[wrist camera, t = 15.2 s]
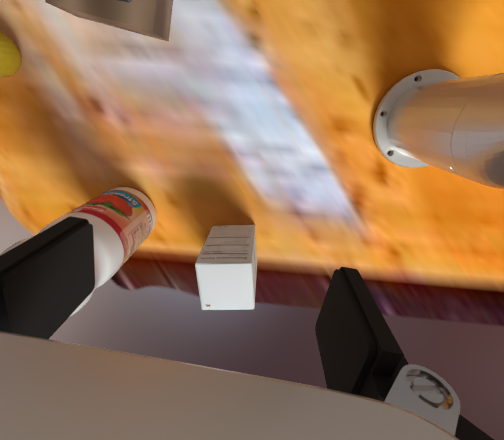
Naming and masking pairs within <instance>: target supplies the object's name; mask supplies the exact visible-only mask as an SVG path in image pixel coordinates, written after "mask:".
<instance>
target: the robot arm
mask: <svg viewBox="0 0 504 440" xmlns="http://www.w3.org/2000/svg"><path fill="white" fill-rule="evenodd" d="M415 77H416V81H415V80H414V79H415ZM381 112H383V115H380V113H381ZM373 135H374V140H375V143H376V146H377V148H378V150H379V151H380V152H381V154H382V155H383V156H384V157H385V158H386V159H387V160H389V161H391V162H392V163H394V164H396V165H399V166H402V167H407V168H420V167H426V166H429V165H432V166H435V167H438V168H440V169H443V170H446V171H448V172H451V173H454V174H456V175H459V176H462V177H464V178H467V179H470V180H472V181H475V182H478V183H481V184H483V185H487V186H490V187H494V188H501V189H504V73H500V74H492V75H484V76H477V77H469V78H460V77H458V76H457V75H455V74H454V73H452V72H449V71H446V70H440V69H429V70H423V71H419V72H415V73H413V74H410V75H408V76H406V77H404V78H403V79H401V80H400V81H398V82H397V83H396V84H395V85H394V86H392V87H391V88H390V89H389V91H388V92H387V93H386V94H385V95H384V97H383V98H382V100H381V102H380V104H379V105H378V108H377V110H376V113H375V117H374V122H373ZM388 151H390V153H389V154H387V152H388ZM94 287H95V262H94V236H93V226H92V224H89V221H88V220H87V219H83V218H78V217H72V216H70V217H67V218H65V219H64V220H62V221H60V222H58V223H57V224H55V225H53V226H51V227H50V228H48V229H46V230H44V231H43V232H41V233H39V234H37V235H36V236H34V237H32V238H30V239H29V240H27V241H25V242H23V243H22V244H20V245H18V246H16V247H14V248H13V249H11V250H9V251H7V252H6V253H4V254H2V255H0V440H494V439H492V438H491V437H489V436H488V435H487V434H485V433H484V432H483V431H481V430H480V429H479V428H477V427H476V426H475V425H473V424H472V423H471V422H469V421H468V420H467V419H465V418H464V417H462V416H461V415H460V414H459V413H460V402H459V399H458V397H457V395H456V393H455V392H454V391H453V389H452V388H451V387H450V385H448V383H447V382H446V381H444V379H442V378H441V377H440V376H438V375H437V374H435V373H434V372H432V371H430V370H429V369H427V368H424V367H421V366H418V365H411V364H410V365H409V364H408V362H407V360H406V359H405V357H404V354H403V353H402V351H401V349H400V347H399V345H398V343H397V341H396V339H395V338H394V336H393V334H392V333H391V330H390V328H389V327H388V325H387V323H386V322H385V319H384V317H383V316H382V314H381V312H380V310H379V308H378V306H377V305H376V303H375V301H374V299H373V297H372V295H371V294H370V292H369V290H368V288H367V286H366V284H365V283H364V281H363V279H362V277H361V275H360V273H359V272H358V270H357V269H352V268H346V267H341V268H340V269H339V270H337V269H336V270H335V271H334V274H333V276H332V279H331V282H330V285H329V288H328V291H327V294H326V297H325V299H324V302H323V305H322V308H321V311H320V314H319V317H318V319H317V322H316V329H315V331H316V336H317V341H318V346H319V351H320V356H321V360H322V365H323V370H324V374H325V379H326V384H327V388H321V387H316V386H310V385H305V384H299V383H294V382H289V381H283V380H277V379H272V378H266V377H261V376H255V375H250V374H244V373H239V372H233V371H228V370H222V369H217V368H211V367H206V366H200V365H194V364H188V363H183V362H177V361H172V360H166V359H160V358H154V357H149V356H143V355H137V354H132V353H125V352H120V351H114V350H108V349H103V348H97V347H91V346H85V345H79V344H73V343H67V342H61V341H55V340H49V338H50V337H51V336H52V335H53V333H54V332H55V331H56V330H57V329H58V328H59V327H60V326H61V325H62V324H63V323H64V322H65V321H66V320H67V318H68V317H69V316H70V315H71V314H72V313H73V312H74V311H75V310H76V309H77V308H78V307H79V306H80V304H81V303H82V302H83V301H84V300H85V299H86V298H87V297H88V296H89V295H90V294H91V293H92V291H93V289H94Z"/></svg>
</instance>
